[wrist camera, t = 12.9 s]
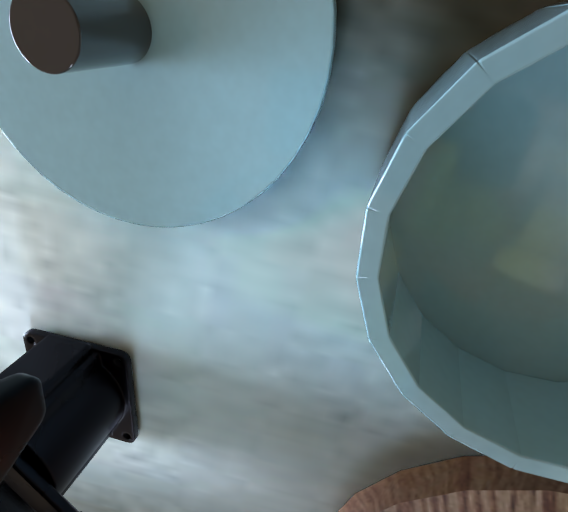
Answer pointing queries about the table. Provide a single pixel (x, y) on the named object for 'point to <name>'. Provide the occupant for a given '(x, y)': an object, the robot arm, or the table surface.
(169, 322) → the table surface
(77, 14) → the lid
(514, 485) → the trivet
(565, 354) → the pot
